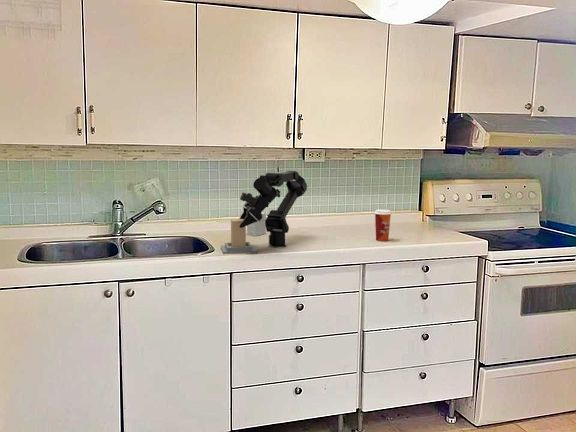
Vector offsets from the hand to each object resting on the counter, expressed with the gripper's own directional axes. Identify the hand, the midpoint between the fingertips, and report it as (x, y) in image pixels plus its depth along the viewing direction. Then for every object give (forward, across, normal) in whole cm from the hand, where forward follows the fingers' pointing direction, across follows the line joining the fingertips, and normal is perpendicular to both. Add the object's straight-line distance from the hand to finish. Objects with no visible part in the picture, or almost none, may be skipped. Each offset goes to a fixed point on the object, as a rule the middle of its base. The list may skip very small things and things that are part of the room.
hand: (238, 225), depth 238 cm
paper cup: (-40, -10, +55) cm, 69 cm away
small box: (-1, -34, +16) cm, 38 cm away
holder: (+8, 0, +7) cm, 11 cm away
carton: (+7, 0, +7) cm, 10 cm away
